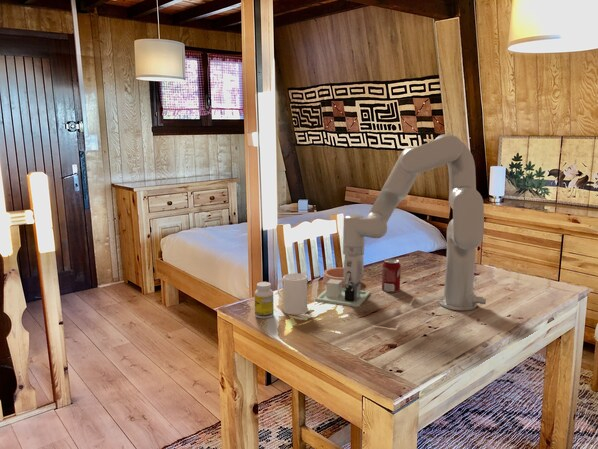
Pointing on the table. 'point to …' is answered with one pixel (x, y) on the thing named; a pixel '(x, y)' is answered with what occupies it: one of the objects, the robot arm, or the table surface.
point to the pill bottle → (264, 300)
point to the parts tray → (343, 299)
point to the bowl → (334, 275)
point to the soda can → (391, 275)
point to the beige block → (334, 288)
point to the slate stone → (356, 291)
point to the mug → (294, 293)
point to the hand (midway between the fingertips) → (352, 297)
